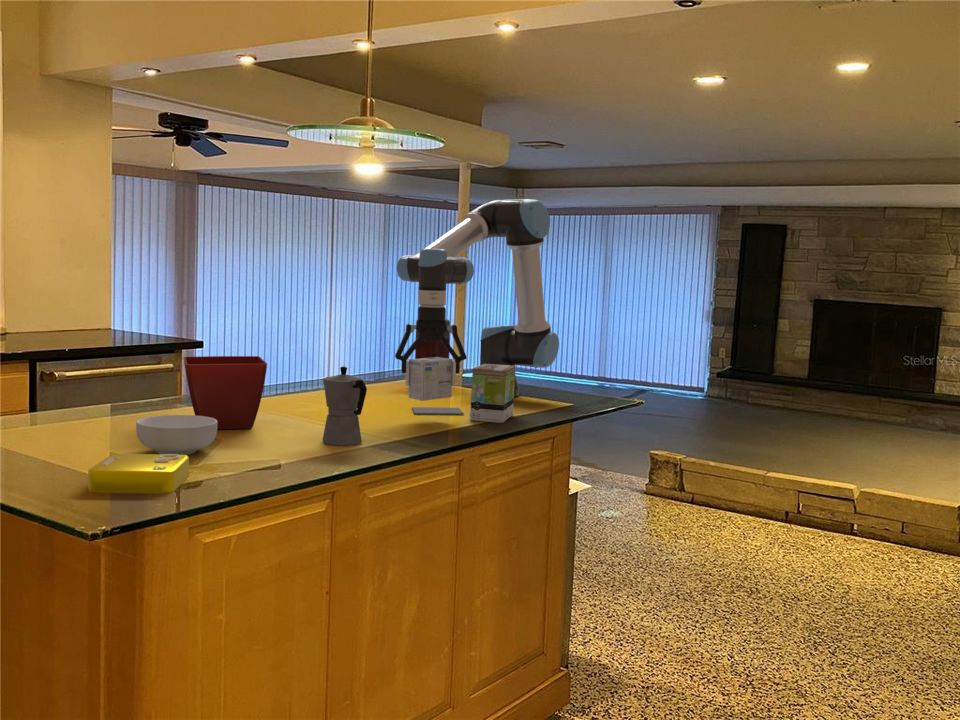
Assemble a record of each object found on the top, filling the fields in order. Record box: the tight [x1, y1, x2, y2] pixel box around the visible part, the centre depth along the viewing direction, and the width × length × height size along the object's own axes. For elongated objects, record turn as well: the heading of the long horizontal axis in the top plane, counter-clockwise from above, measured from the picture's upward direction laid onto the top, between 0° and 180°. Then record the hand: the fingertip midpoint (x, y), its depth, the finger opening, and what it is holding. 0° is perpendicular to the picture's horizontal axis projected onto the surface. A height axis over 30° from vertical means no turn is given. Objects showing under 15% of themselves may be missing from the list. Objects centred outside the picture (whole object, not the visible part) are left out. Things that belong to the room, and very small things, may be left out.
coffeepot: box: [322, 365, 368, 447], centre depth 206 cm, size 15×9×18 cm, turn 43°
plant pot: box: [183, 355, 268, 430], centre depth 222 cm, size 19×19×17 cm
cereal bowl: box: [135, 414, 218, 456], centre depth 191 cm, size 17×17×7 cm
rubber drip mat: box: [411, 406, 464, 416], centre depth 255 cm, size 10×14×1 cm
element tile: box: [87, 453, 190, 495], centre depth 164 cm, size 15×15×5 cm
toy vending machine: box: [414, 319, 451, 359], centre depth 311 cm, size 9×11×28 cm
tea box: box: [469, 364, 516, 424], centre depth 248 cm, size 15×10×15 cm
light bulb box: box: [408, 357, 453, 402], centre depth 240 cm, size 11×7×11 cm, turn 134°
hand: (430, 385), depth 240 cm, fingers closed on light bulb box, 12 cm apart
